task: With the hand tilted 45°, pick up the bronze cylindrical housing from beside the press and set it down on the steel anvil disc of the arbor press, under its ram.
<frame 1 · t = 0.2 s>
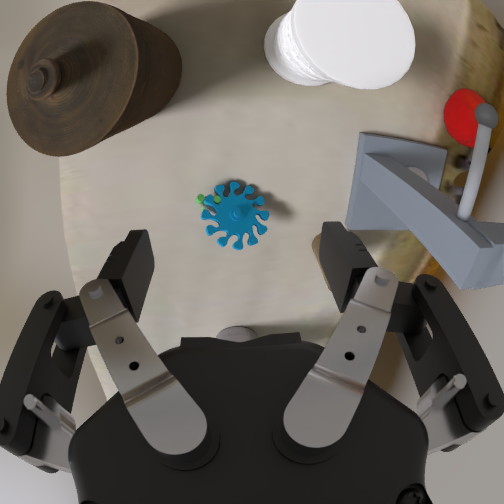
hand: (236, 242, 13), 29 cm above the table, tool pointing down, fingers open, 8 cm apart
gear: (232, 202, 43), on the table
press: (403, 184, 43), on the table
housing: (325, 243, 49), on the table
decorative container: (305, 48, 30), on the table
wooden container: (131, 74, 30), on the table
tomato: (453, 112, 35), on the table
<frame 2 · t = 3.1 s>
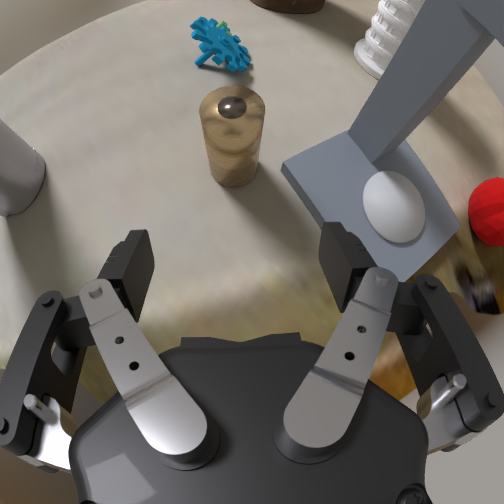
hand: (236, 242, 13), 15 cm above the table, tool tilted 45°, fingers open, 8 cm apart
gear: (222, 61, 33), on the table
press: (386, 212, 29), on the table
housing: (233, 166, 29), on the table
decorative container: (385, 64, 34), on the table
tomato: (478, 219, 30), on the table
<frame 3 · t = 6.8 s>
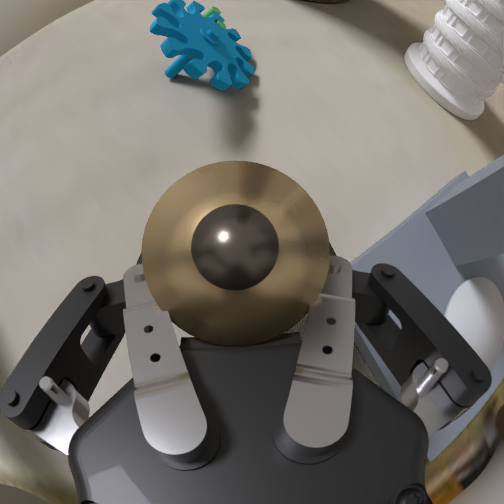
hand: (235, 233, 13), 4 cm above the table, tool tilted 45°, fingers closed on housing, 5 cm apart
gear: (210, 70, 21), on the table
press: (458, 330, 17), on the table
housing: (237, 280, 17), on the table, touching gripper
decorative container: (443, 82, 22), on the table
when the fingers open (8 cm above the table, at t = 14.1 s): housing drops 1 cm, resting on press.
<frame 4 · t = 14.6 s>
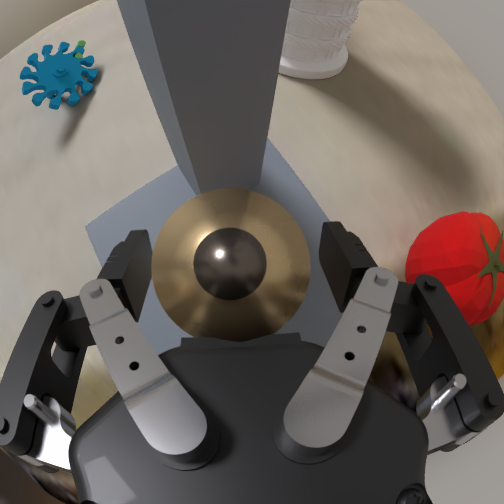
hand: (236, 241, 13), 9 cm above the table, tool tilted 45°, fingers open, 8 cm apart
gear: (73, 89, 25), on the table
press: (238, 285, 21), on the table
housing: (234, 285, 18), point 3 cm above the table, touching press
decorative container: (298, 49, 26), on the table
tomato: (430, 274, 22), on the table
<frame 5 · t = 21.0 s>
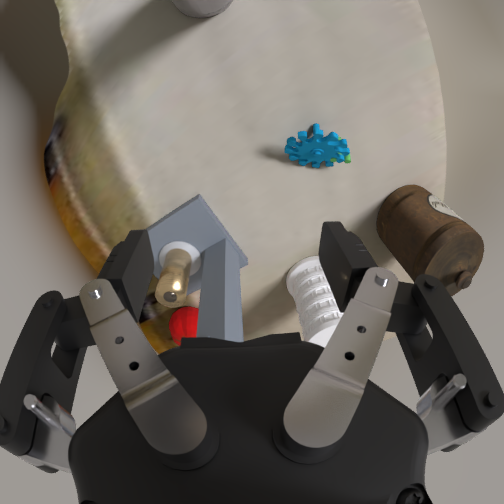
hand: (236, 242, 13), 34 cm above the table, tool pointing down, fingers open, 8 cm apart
gear: (313, 144, 44), on the table
press: (181, 252, 53), on the table
housing: (178, 259, 51), point 3 cm above the table, touching press
decorative container: (312, 277, 59), on the table
wooden container: (405, 216, 52), on the table
tomato: (192, 314, 64), on the table
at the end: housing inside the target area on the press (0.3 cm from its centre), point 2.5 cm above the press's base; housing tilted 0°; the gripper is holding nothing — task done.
